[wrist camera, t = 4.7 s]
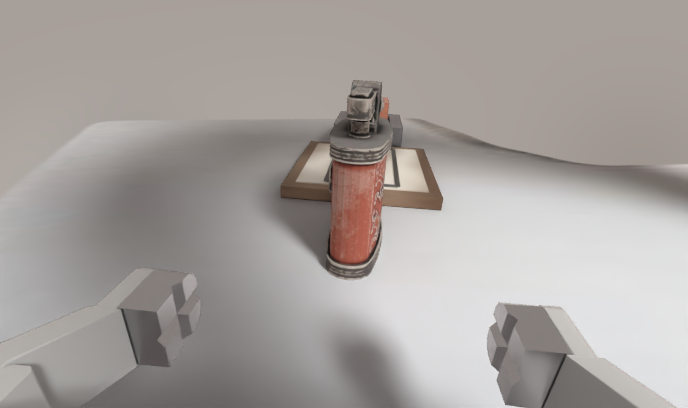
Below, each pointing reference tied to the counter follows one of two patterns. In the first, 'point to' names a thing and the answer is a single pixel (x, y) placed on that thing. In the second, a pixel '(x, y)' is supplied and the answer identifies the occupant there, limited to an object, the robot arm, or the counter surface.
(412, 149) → the board
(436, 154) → the counter surface
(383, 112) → the button
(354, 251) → the lighter
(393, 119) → the button housing
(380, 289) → the counter surface
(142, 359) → the robot arm
